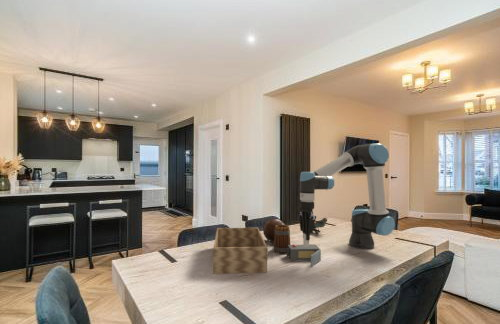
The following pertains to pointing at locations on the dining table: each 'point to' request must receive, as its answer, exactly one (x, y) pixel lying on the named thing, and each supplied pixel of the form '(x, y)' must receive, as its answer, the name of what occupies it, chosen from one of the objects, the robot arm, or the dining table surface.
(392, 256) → the dining table surface
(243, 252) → the box
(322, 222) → the bird figurine
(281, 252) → the mug
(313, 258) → the side door
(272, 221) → the coconut
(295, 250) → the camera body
